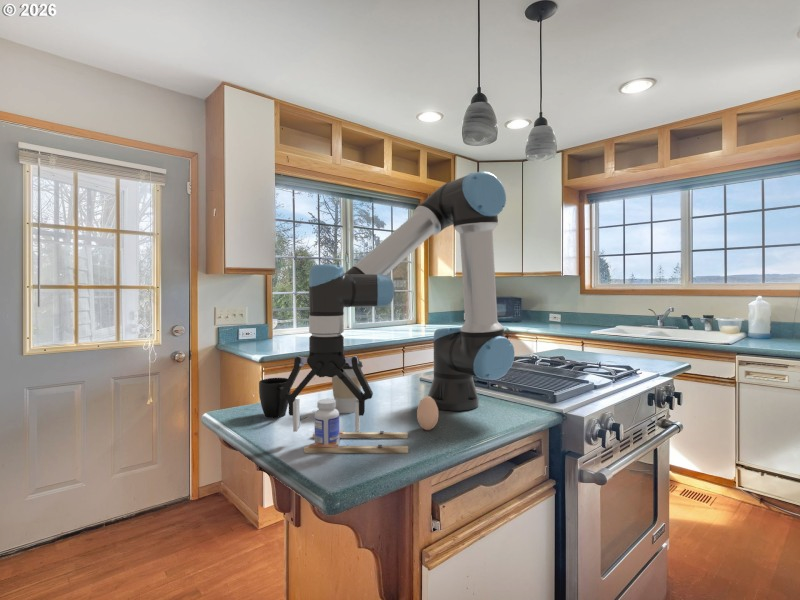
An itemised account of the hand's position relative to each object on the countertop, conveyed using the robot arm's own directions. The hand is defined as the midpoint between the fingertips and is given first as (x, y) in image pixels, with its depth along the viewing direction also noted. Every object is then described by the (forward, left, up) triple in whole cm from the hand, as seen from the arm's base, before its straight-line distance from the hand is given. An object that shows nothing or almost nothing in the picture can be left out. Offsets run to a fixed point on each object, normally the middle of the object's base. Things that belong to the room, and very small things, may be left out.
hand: (327, 429), depth 95 cm
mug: (+17, -20, -3) cm, 26 cm away
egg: (-23, -10, -3) cm, 25 cm away
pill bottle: (0, 0, -3) cm, 3 cm away
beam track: (-7, 0, -3) cm, 8 cm away
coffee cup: (-1, -27, -3) cm, 27 cm away
